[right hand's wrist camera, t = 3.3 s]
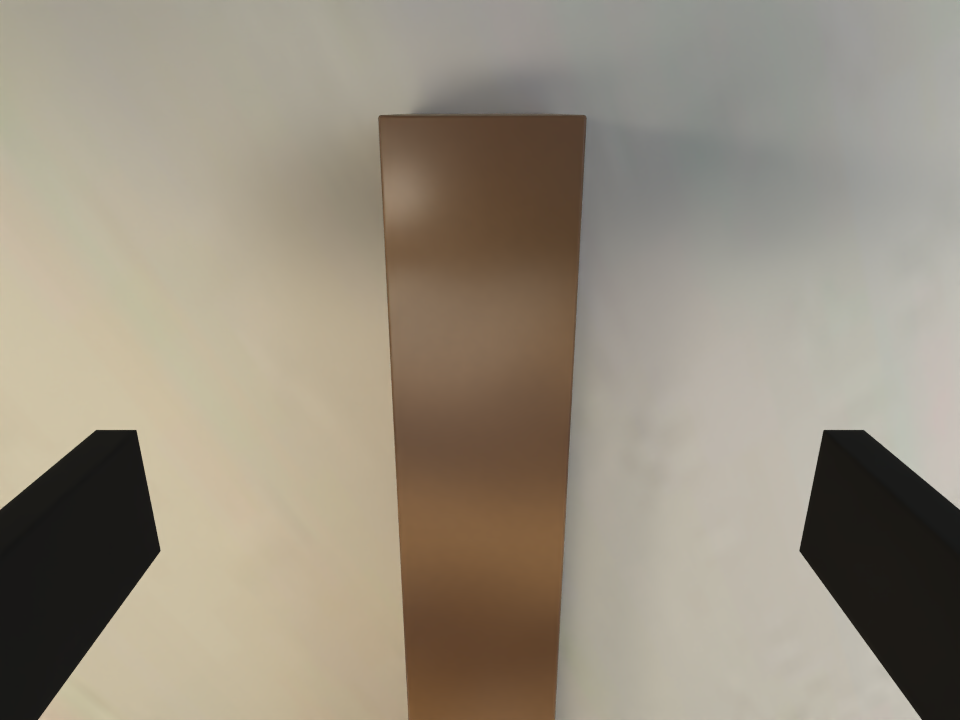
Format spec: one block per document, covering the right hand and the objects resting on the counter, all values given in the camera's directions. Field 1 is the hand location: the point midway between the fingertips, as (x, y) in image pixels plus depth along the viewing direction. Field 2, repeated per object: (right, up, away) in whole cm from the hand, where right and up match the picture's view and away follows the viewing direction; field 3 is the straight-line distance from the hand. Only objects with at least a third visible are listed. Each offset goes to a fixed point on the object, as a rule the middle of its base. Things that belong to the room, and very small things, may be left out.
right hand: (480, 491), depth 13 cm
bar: (0, -14, +21) cm, 25 cm away
